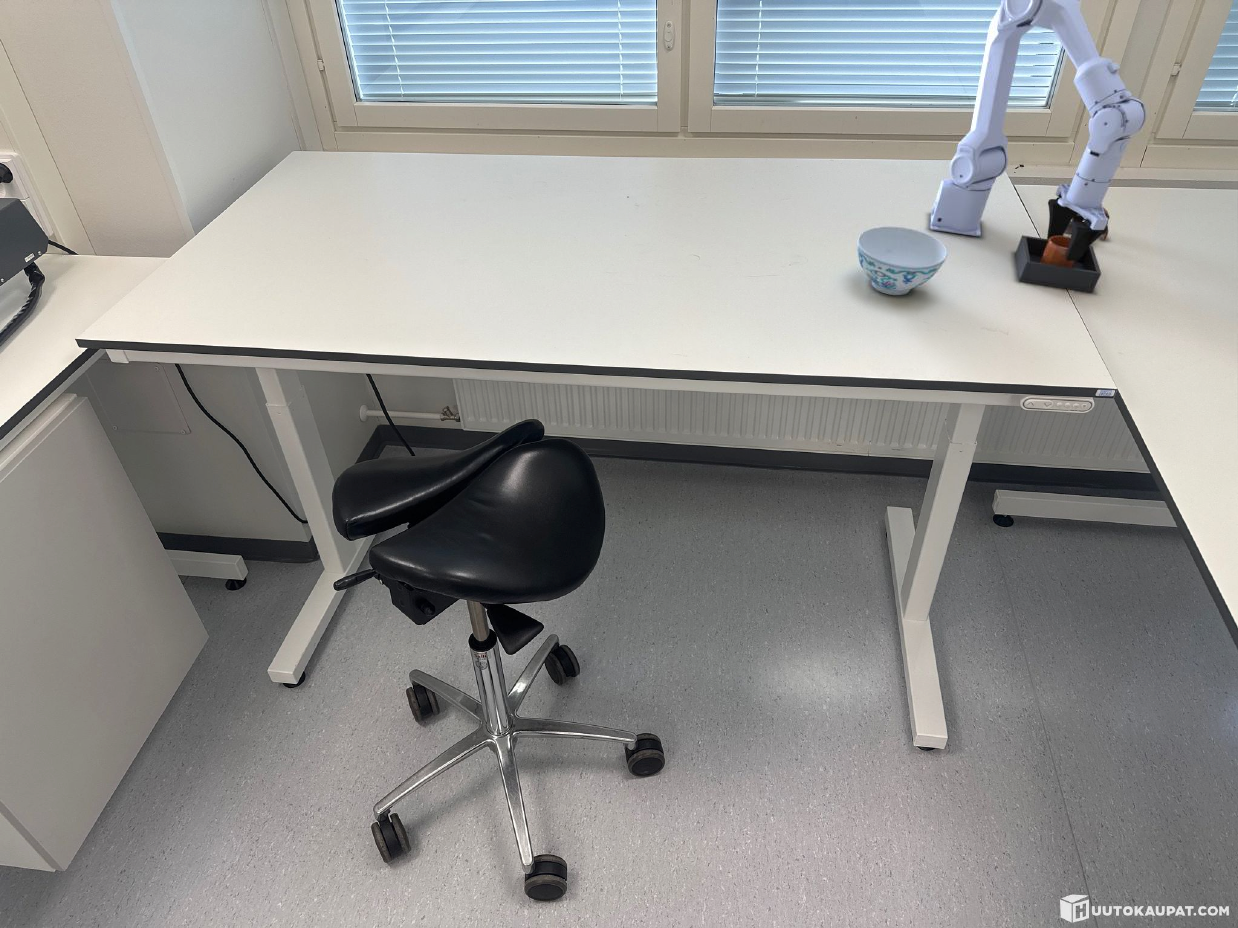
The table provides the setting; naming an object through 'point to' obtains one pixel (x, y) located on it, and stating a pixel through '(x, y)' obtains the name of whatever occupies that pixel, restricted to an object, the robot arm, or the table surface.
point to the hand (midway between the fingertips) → (1062, 250)
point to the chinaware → (899, 258)
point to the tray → (1055, 267)
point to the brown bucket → (1057, 251)
